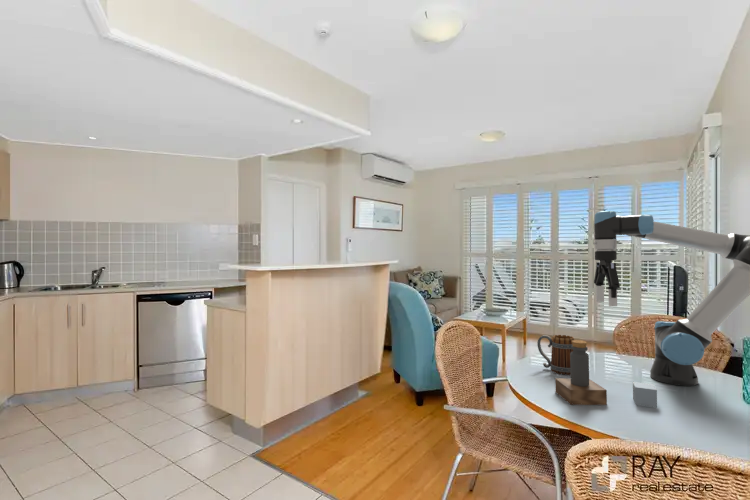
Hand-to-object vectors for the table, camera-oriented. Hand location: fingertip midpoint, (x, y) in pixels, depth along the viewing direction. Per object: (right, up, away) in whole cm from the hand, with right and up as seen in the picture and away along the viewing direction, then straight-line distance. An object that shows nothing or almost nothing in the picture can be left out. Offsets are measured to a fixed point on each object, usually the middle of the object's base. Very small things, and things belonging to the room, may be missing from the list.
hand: (606, 303), depth 155 cm
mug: (-13, -31, +14) cm, 36 cm away
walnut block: (-20, -31, -17) cm, 40 cm away
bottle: (-20, -26, -17) cm, 37 cm away
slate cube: (0, -31, -22) cm, 38 cm away
